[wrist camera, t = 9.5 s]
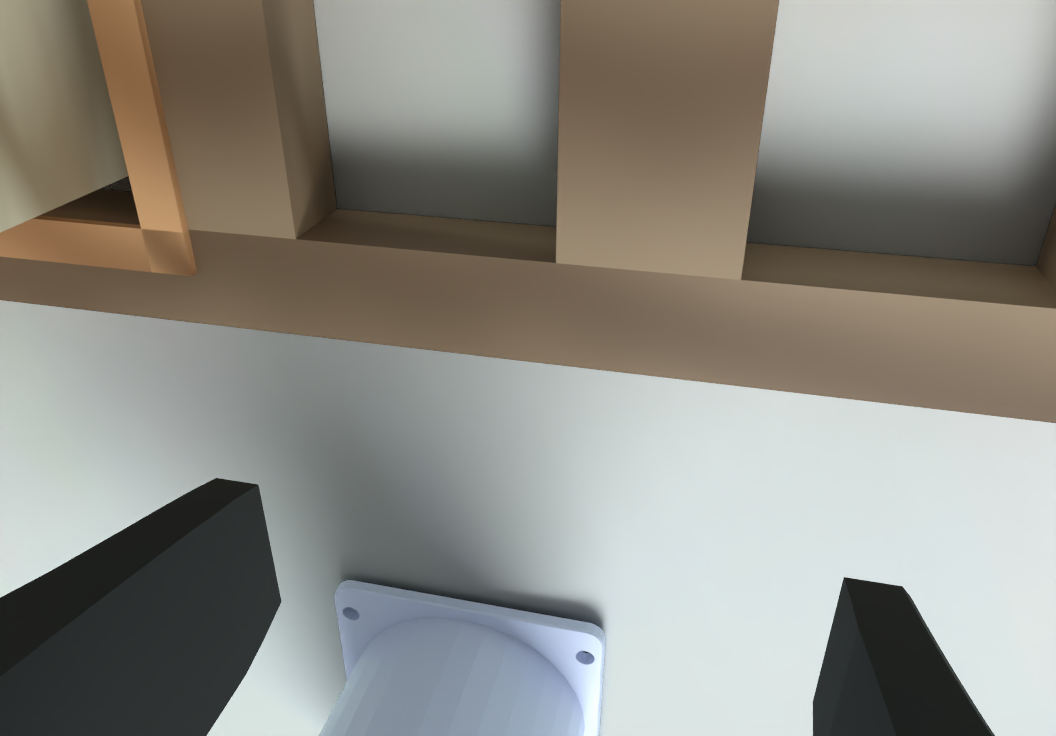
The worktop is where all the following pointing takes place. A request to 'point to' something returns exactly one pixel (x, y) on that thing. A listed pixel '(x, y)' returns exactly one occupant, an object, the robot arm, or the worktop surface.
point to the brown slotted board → (520, 249)
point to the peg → (52, 110)
